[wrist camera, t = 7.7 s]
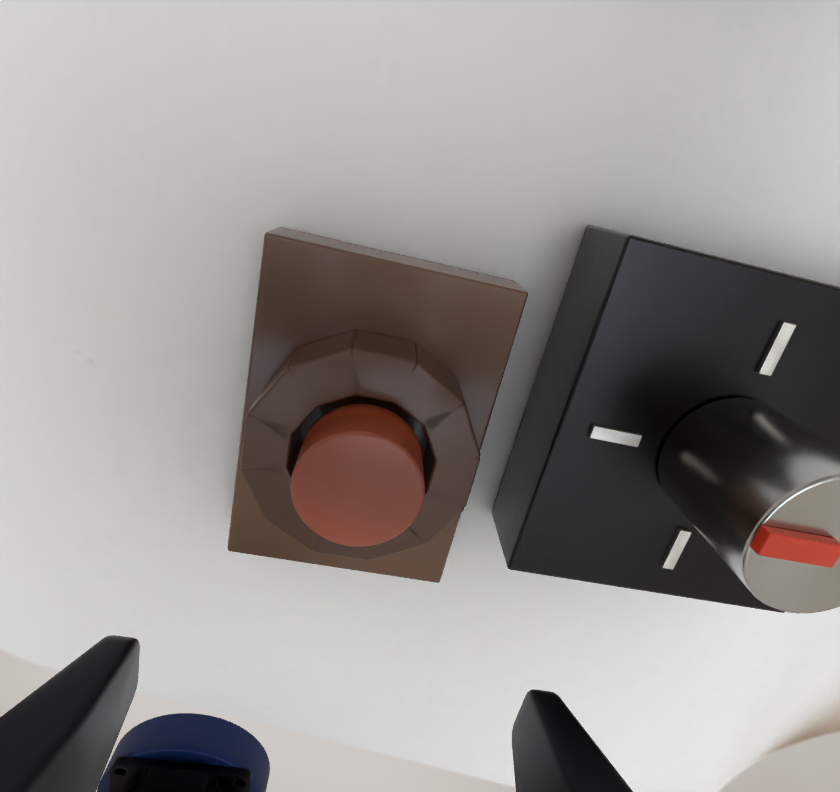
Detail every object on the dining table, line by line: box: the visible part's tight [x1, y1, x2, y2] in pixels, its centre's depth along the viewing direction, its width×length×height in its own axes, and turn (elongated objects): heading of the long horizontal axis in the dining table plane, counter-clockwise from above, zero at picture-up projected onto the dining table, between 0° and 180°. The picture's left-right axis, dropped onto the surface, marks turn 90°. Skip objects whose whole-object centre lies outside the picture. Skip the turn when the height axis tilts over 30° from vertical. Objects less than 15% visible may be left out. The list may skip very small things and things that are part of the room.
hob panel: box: [492, 225, 840, 613], centre depth 16 cm, size 10×10×3 cm
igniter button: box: [290, 404, 425, 546], centre depth 13 cm, size 3×3×2 cm
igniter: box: [228, 227, 528, 583], centre depth 15 cm, size 10×7×4 cm
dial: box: [658, 398, 840, 613], centre depth 13 cm, size 4×4×4 cm
